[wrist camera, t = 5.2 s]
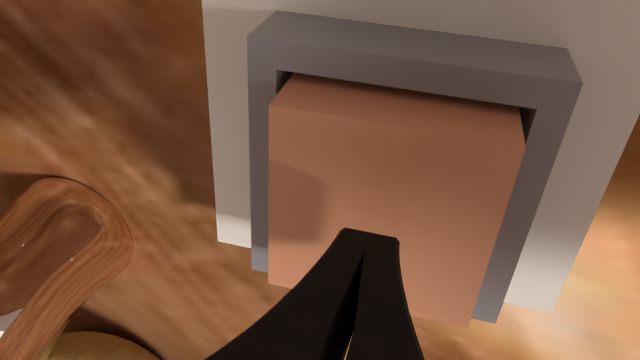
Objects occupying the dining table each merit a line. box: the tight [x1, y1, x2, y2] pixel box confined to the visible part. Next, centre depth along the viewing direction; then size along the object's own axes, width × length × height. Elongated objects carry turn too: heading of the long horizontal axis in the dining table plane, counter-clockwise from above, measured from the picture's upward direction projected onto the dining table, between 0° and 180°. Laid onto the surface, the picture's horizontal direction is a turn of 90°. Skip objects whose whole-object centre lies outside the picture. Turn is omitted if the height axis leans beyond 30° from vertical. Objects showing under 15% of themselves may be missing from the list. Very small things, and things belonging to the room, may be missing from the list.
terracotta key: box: [268, 72, 526, 328], centre depth 15 cm, size 6×6×3 cm
